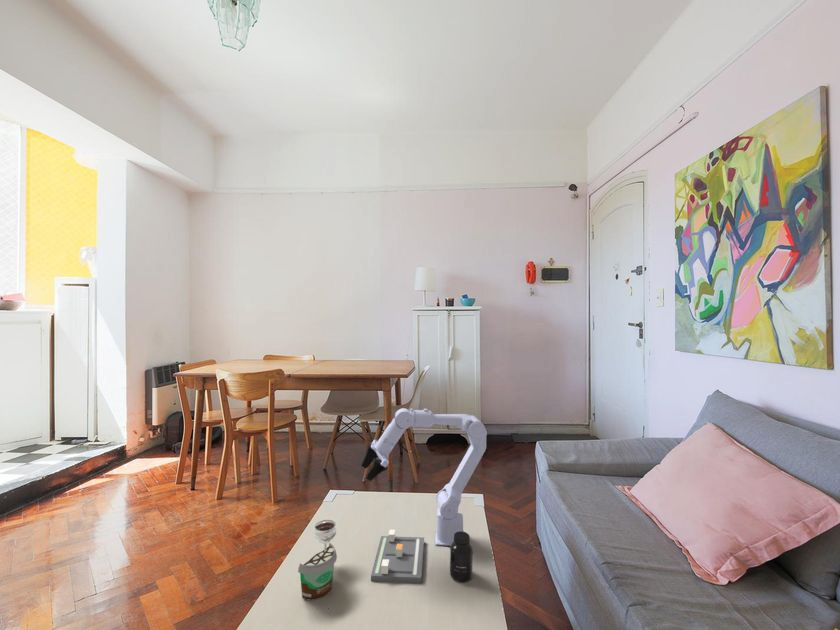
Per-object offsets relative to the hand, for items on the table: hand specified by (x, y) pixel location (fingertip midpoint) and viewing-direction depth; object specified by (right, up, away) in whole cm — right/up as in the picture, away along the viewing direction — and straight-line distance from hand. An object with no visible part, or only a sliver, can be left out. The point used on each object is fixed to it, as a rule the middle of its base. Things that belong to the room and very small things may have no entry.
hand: (365, 472), depth 128 cm
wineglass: (-12, -25, -10) cm, 29 cm away
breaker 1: (+8, -23, -16) cm, 29 cm away
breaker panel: (+12, -24, -8) cm, 29 cm away
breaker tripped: (+12, -23, -8) cm, 27 cm away
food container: (-9, -25, -22) cm, 34 cm away
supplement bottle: (+31, -25, -15) cm, 43 cm away
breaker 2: (+9, -23, 0) cm, 24 cm away
